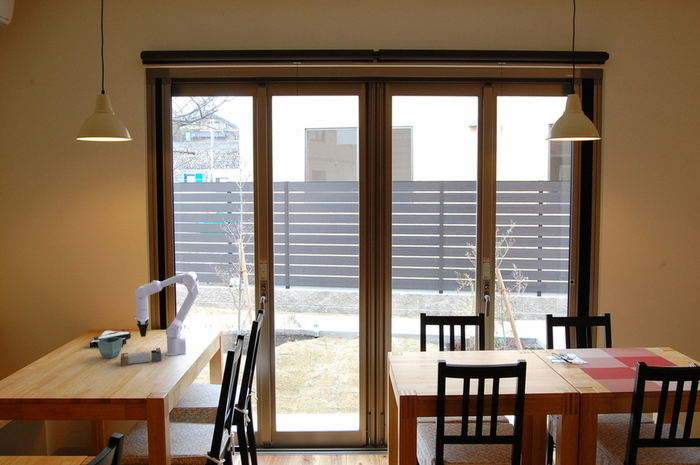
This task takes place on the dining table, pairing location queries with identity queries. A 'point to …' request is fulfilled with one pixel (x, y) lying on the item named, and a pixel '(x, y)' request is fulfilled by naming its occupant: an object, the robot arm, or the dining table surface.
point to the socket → (124, 359)
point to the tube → (138, 357)
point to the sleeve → (156, 355)
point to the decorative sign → (112, 334)
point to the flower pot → (110, 347)
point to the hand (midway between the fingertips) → (143, 334)
